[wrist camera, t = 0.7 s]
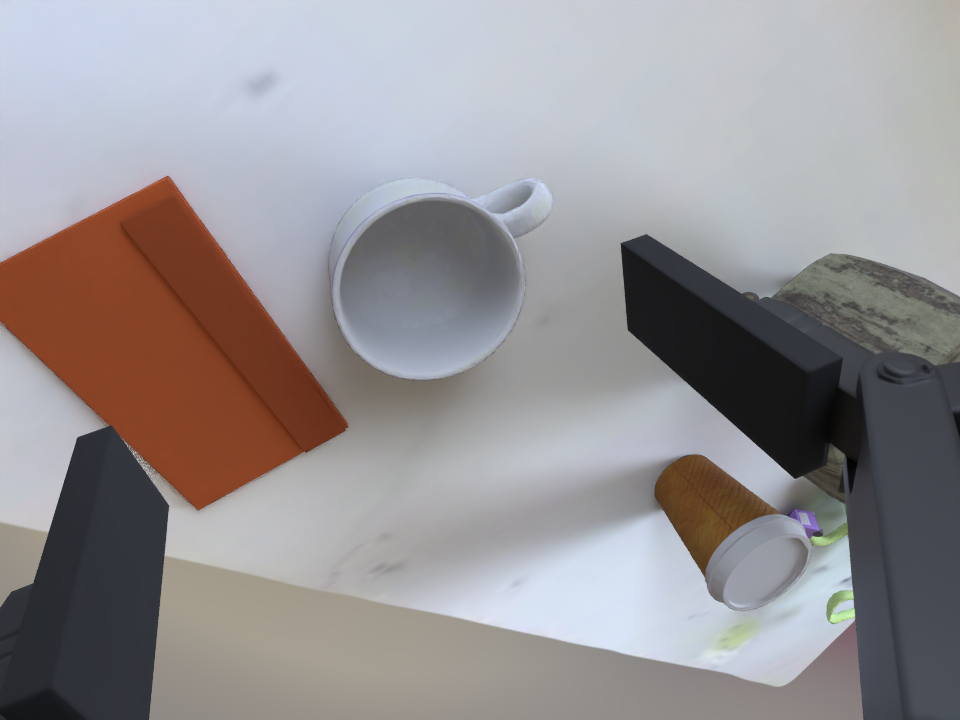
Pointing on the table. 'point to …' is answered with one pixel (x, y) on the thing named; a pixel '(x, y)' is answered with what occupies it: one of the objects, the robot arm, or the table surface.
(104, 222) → the orange envelope wallet
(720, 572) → the disposable coffee cup
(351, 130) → the table surface
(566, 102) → the table surface
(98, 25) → the table surface
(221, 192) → the table surface
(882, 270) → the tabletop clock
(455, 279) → the teacup
